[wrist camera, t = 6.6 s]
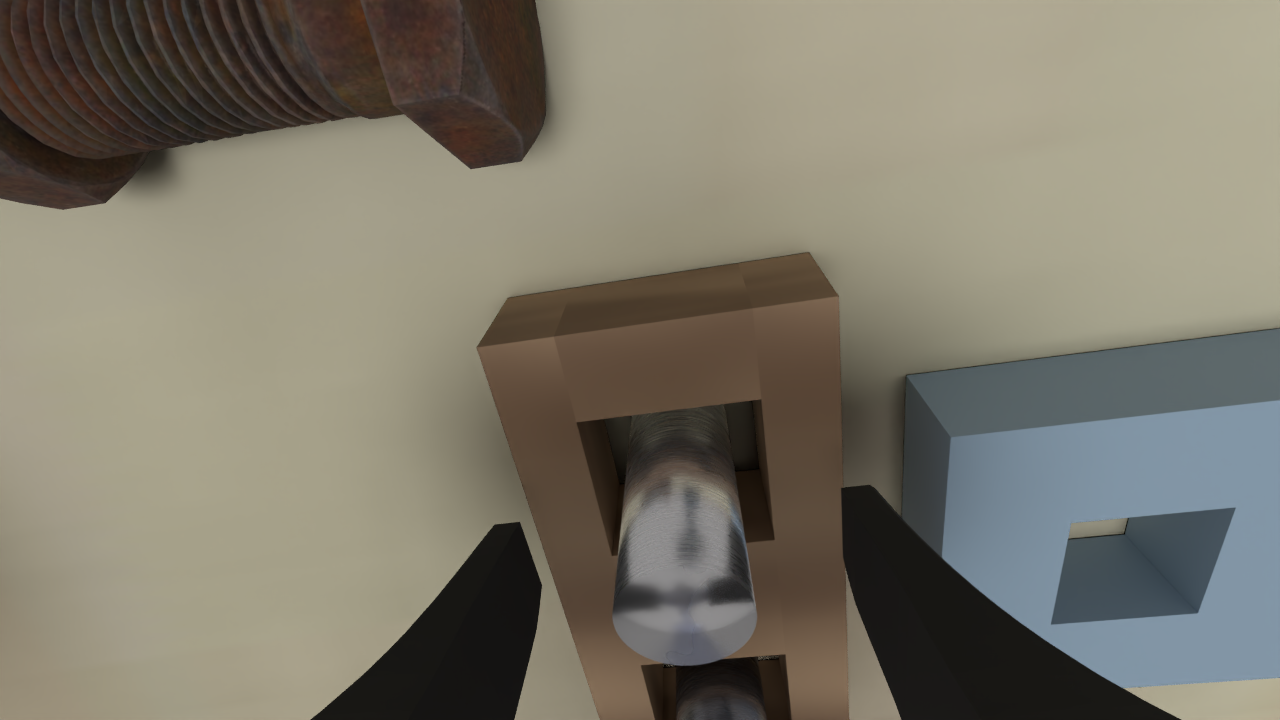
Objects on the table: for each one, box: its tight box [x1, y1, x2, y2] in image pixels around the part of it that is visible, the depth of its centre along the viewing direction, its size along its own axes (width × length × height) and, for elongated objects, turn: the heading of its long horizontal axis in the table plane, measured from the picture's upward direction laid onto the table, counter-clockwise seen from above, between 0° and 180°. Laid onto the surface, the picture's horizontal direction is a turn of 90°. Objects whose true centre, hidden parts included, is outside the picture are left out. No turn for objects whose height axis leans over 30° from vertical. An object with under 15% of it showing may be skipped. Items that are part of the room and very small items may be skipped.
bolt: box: [0, 0, 546, 210], centre depth 12 cm, size 6×5×15 cm
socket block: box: [902, 329, 1280, 688], centre depth 17 cm, size 10×10×3 cm
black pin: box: [676, 656, 767, 720], centre depth 19 cm, size 3×3×6 cm
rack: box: [477, 253, 849, 720], centre depth 19 cm, size 18×8×3 cm, turn 10°
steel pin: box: [612, 404, 757, 666], centre depth 15 cm, size 3×3×7 cm
